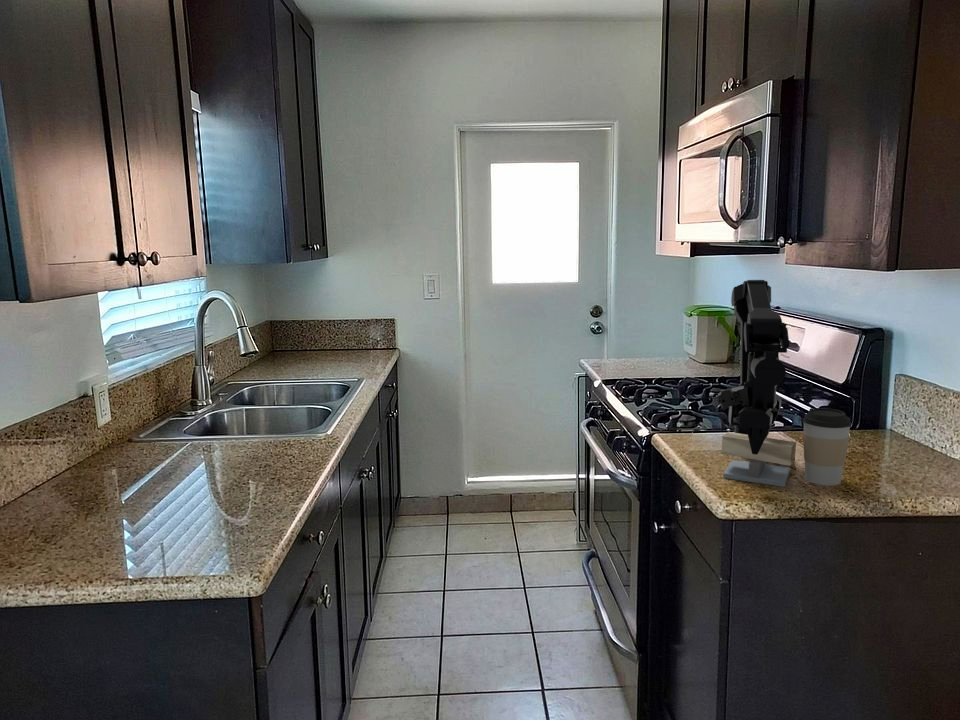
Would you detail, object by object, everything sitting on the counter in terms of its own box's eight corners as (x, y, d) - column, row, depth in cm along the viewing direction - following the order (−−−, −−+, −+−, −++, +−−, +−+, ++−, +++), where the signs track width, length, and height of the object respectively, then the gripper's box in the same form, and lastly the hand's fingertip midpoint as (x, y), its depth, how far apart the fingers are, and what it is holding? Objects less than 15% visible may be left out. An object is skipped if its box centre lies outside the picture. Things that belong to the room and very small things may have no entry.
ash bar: (727, 449, 151) (728, 431, 151) (795, 460, 143) (796, 442, 142) (721, 453, 148) (722, 436, 148) (790, 465, 140) (791, 446, 139)
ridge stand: (732, 464, 153) (732, 447, 153) (790, 472, 147) (791, 454, 147) (723, 477, 145) (724, 459, 144) (784, 486, 139) (785, 468, 138)
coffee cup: (848, 476, 144) (853, 407, 141) (846, 490, 136) (851, 417, 134) (801, 470, 149) (805, 403, 146) (796, 483, 141) (801, 412, 138)
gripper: (730, 366, 154) (727, 432, 157) (712, 381, 139) (709, 455, 141) (783, 369, 149) (779, 438, 152) (771, 386, 133) (767, 462, 136)
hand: (758, 448), depth 145 cm, fingers open, 9 cm apart
